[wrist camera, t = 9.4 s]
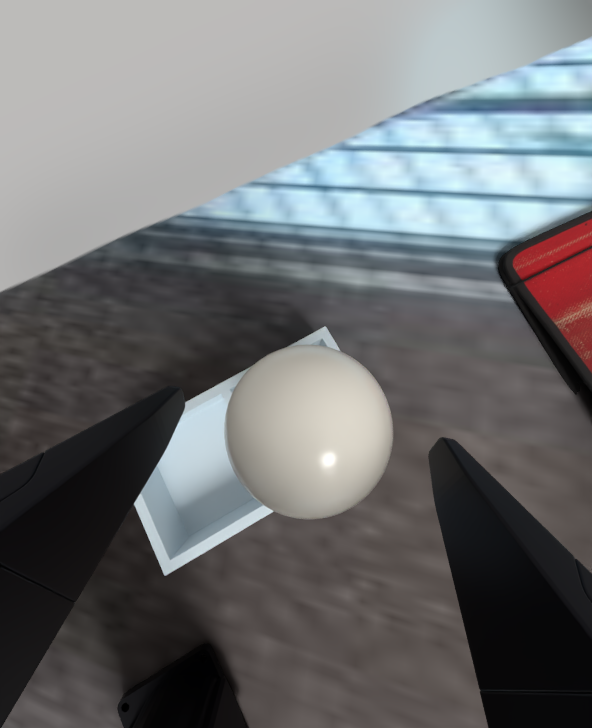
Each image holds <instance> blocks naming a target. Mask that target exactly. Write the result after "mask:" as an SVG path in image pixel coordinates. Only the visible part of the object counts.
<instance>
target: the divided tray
mask: <svg viewBox="0 0 592 728" xmlns="http://www.w3.org/2000/svg"><path fill="white" fill-rule="evenodd" d="M296 345H320V346H325V347H330V348H332V349H335V350H338V351H340V349H339V348H338V346H337V344H336V343H335V341H334V339H333V338H332V336H331V334H330V333H329V331H328V329H327V328H326V326H325V327H323V328H321V329H319V330H318V331H316V332H314V333H312V334H310V335H308V336H307V337H305V338H303V339H301V340H299V341H297V342H295V343H294V344H292V345H290V346H296ZM290 346H288V347H290ZM251 367H252V366H251ZM251 367H249V368H248V369H246V370H244V371H242V372H240V373H238V374H237V375H235V376H233V377H231V378H229V379H227V380H226V381H224V382H222V383H220V384H218V385H216V386H215V387H213V388H211V389H209V390H207V391H205V392H204V393H202V394H200V395H198V396H196V397H194V398H192V399H191V400H189V401H187V402H185V409H184V412H183V414H182V416H181V418H180V421H179V423H178V425H177V427H176V429H175V432H174V434H173V436H172V438H171V440H170V442H169V445H168V447H167V449H166V450H165V452H164V454H163V456H162V458H161V459H160V461H159V463H158V464H157V466H156V468H155V469H154V471H153V473H152V474H151V476H150V478H149V479H148V481H147V483H146V484H145V486H144V488H143V489H142V491H141V493H140V495H139V496H138V498H137V500H136V501H135V503H134V505H135V507H136V510H137V512H138V514H139V517H140V519H141V521H142V524H143V526H144V528H145V531H146V533H147V535H148V538H149V540H150V542H151V545H152V547H153V550H154V552H155V554H156V557H157V559H158V561H159V564H160V566H161V568H162V571H163V573H164V575H165V576H166V575H168V574H169V573H171V572H173V571H174V570H176V569H178V568H179V567H181V566H183V565H184V564H186V563H188V562H189V561H191V560H193V559H194V558H196V557H198V556H200V555H201V554H203V553H205V552H206V551H208V550H210V549H211V548H213V547H215V546H216V545H218V544H220V543H221V542H223V541H225V540H226V539H228V538H230V537H231V536H233V535H235V534H236V533H238V532H240V531H241V530H243V529H245V528H247V527H248V526H250V525H252V524H253V523H255V522H257V521H258V520H260V519H262V518H263V517H265V516H267V515H268V514H270V513H272V512H273V510H271V509H269V508H267V507H265V506H264V505H262V504H261V503H260V502H258V501H257V500H256V499H255V498H254V497H253V496H252V495H251V494H250V493H249V492H248V491H247V490H246V489H245V488H244V487H243V485H242V484H241V483H240V481H239V480H238V478H237V476H236V475H235V473H234V471H233V469H232V466H231V464H230V461H229V458H228V455H227V451H226V446H225V439H224V422H225V414H226V410H227V406H228V403H229V400H230V398H231V395H232V393H233V391H234V389H235V387H236V385H237V384H238V382H239V381H240V379H241V378H242V377H243V375H244V374H245V373H246V372H247V371H248V370H249V369H250V368H251Z"/></svg>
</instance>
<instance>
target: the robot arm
mask: <svg viewBox="0 0 592 728" xmlns="http://www.w3.org/2000/svg"><path fill="white" fill-rule="evenodd" d="M184 409H185V400H184V395H183V391H182V389H181V388H180V387H175V386H167V387H165V388H164V389H162V390H160V391H158V392H156V393H154V394H152V395H150V396H148V397H146V398H145V399H143V400H141V401H139V402H137V403H135V404H133V405H131V406H129V407H128V408H126V409H124V410H122V411H120V412H118V413H116V414H114V415H112V416H110V417H109V418H107V419H105V420H103V421H101V422H99V423H97V424H95V425H93V426H92V427H90V428H88V429H86V430H84V431H82V432H80V433H78V434H76V435H74V436H73V437H71V438H69V439H67V440H65V441H63V442H61V443H59V444H57V445H56V446H54V447H52V448H50V449H48V450H46V451H45V453H44V452H43V453H40V454H38V455H36V456H35V457H33V458H31V459H29V460H27V461H25V462H23V463H21V464H19V465H17V466H15V467H13V468H11V469H9V470H7V471H5V472H3V473H2V474H0V728H1V727H2V725H3V724H4V722H5V720H6V719H7V717H8V715H9V714H10V712H11V710H12V708H13V707H14V705H15V703H16V702H17V700H18V698H19V697H20V695H21V693H22V692H23V690H24V688H25V687H26V685H27V683H28V682H29V680H30V678H31V677H32V675H33V673H34V671H35V670H36V668H37V666H38V665H39V663H40V661H41V660H42V658H43V656H44V655H45V653H46V651H47V650H48V648H49V646H50V645H51V643H52V641H53V640H54V638H55V636H56V634H57V633H58V631H59V629H60V628H61V626H62V624H63V623H64V621H65V619H66V618H67V616H68V614H69V613H70V611H71V609H72V608H73V606H74V604H75V602H76V600H77V599H78V597H79V595H80V594H81V592H82V590H83V589H84V587H85V585H86V584H87V582H88V580H89V579H90V577H91V575H92V574H93V572H94V570H95V569H96V567H97V565H98V563H99V562H100V560H101V558H102V557H103V555H104V553H105V552H106V550H107V548H108V547H109V545H110V543H111V542H112V540H113V538H114V537H115V535H116V533H117V532H118V530H119V528H120V526H121V525H122V523H123V521H124V520H125V518H126V516H127V515H128V513H129V511H130V510H131V508H132V506H133V505H134V503H135V501H136V500H137V498H138V496H139V495H140V493H141V491H142V489H143V488H144V486H145V484H146V483H147V481H148V479H149V478H150V476H151V474H152V473H153V471H154V469H155V468H156V466H157V464H158V463H159V461H160V459H161V458H162V456H163V454H164V452H165V450H166V449H167V447H168V445H169V442H170V440H171V438H172V436H173V434H174V432H175V429H176V427H177V425H178V423H179V421H180V418H181V416H182V414H183V412H184ZM428 457H429V465H430V473H431V480H432V488H433V495H434V501H435V506H436V511H437V515H438V519H439V523H440V527H441V531H442V536H443V540H444V544H445V548H446V552H447V556H448V561H449V565H450V569H451V573H452V577H453V581H454V585H455V590H456V594H457V598H458V602H459V606H460V610H461V615H462V619H463V623H464V627H465V631H466V635H467V639H468V644H469V648H470V652H471V656H472V660H473V664H474V668H475V673H476V677H477V681H478V685H479V689H480V690H481V691H480V694H481V699H482V703H483V707H484V711H485V715H486V719H487V723H488V728H592V573H591V572H590V571H588V570H587V569H586V568H585V567H584V566H583V565H582V564H581V563H580V562H579V561H578V560H577V559H575V558H574V556H573V555H572V554H571V553H570V552H569V551H568V550H567V549H566V548H565V547H564V546H563V545H562V544H561V543H560V542H559V541H558V540H557V539H556V538H555V537H554V536H553V535H552V534H551V533H550V532H549V531H548V530H547V529H546V528H545V527H543V526H542V525H541V524H540V523H539V522H538V521H537V520H536V519H535V518H534V517H533V516H532V515H531V514H530V513H529V512H528V511H527V510H526V509H525V508H524V507H523V506H522V505H521V504H520V503H519V502H518V501H517V500H516V499H515V498H514V497H513V496H512V495H511V494H510V493H509V492H508V491H507V490H506V489H505V488H504V487H503V486H502V485H501V484H500V483H499V482H498V481H497V480H496V479H495V478H493V477H492V476H491V475H490V474H489V473H488V472H487V471H486V470H485V469H484V468H483V467H482V466H481V465H480V464H479V463H478V462H477V461H476V460H475V459H474V458H473V457H472V456H471V455H470V454H469V453H468V452H467V451H466V450H465V449H464V448H463V447H462V446H461V445H460V444H459V443H458V442H457V441H455V440H454V439H450V438H444V437H441V438H439V439H438V441H437V442H436V443H435V444H434V446H433V447H432V448H431V450H430V451H429V456H428ZM202 654H205V655H206V657H204V656H203V655H202ZM127 703H128V704H127ZM118 713H119V716H120V718H121V721H122V724H123V727H124V728H247V727H246V725H245V723H244V721H243V716H242V713H241V711H240V709H239V706H238V704H237V702H236V700H235V697H234V695H233V693H232V690H231V688H230V686H229V683H228V681H227V679H226V678H225V677H224V674H223V672H222V670H221V667H220V665H219V663H218V661H217V658H216V656H215V654H214V651H213V649H212V647H211V646H210V645H209V644H203V645H201V646H199V647H198V648H196V649H194V650H193V651H191V652H190V653H188V654H186V655H185V656H183V657H182V658H180V659H178V660H177V661H175V662H174V663H172V664H170V665H169V666H167V667H166V668H164V669H162V670H161V671H159V672H158V673H156V674H154V675H153V676H151V677H150V678H148V679H146V680H145V681H143V682H142V683H140V684H138V685H137V686H135V687H134V688H132V689H130V690H129V691H127V692H126V693H125V694H124V695H123V697H122V699H121V700H120V702H119V704H118Z"/></svg>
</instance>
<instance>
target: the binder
mask: <svg viewBox="0 0 592 728" xmlns="http://www.w3.org/2000/svg"><path fill="white" fill-rule="evenodd" d="M499 272H500V274H501V277H502V278H503V280H504V281H505V283H506V285H507V286H508V288H507V289H509V290H510V292H511V294H512V295H513V297H514V298H515V300H516V301H517V303H518V305H519V306H520V308H521V310H522V311H523V313H524V315H525V316H526V318H527V320H528V321H529V323H530V325H531V326H532V328H533V330H534V332H535V333H536V335H537V336H538V338H539V340H540V341H541V343H542V345H543V346H544V348H545V350H546V351H547V353H548V355H549V357H550V358H551V360H552V362H553V364H554V365H555V367H556V368H557V370H558V371H559V373H560V375H561V376H562V377H563V379H564V380H565V382H566V383H567V385H568V386H569V387H570V389H571V390H572V391H573V392H574V393H575V394H577V392H579V391H580V386H579V384H581V383H582V382H584V383H585V384H586V385H587V387H588V388H589V389H590V391H591V392H592V211H591V212H589V213H586V214H584V215H582V216H580V217H577V218H575V219H573V220H571V221H569V222H566V223H564V224H562V225H560V226H558V227H555V228H553V229H551V230H549V231H547V232H545V233H542V234H540V235H538V236H536V237H534V238H532V239H529V240H527V241H525V242H523V243H521V244H519V245H517V246H515V247H514V248H512V249H511V250H510V251H508V252H507V253H505V254H504V255H503V256H502V257H501V259H500V261H499ZM578 383H579V384H578Z"/></svg>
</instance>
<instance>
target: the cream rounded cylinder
mask: <svg viewBox="0 0 592 728" xmlns="http://www.w3.org/2000/svg"><path fill="white" fill-rule="evenodd" d="M224 439H225V446H226V451H227V455H228V458H229V461H230V464H231V466H232V469H233V471H234V473H235V475H236V476H237V478H238V480H239V481H240V483H241V484H242V485H243V487H244V488H245V489H246V490H247V491H248V492H249V493H250V494H251V495H252V496H253V497H254V498H255V499H256V500H257V501H258V502H260V503H261V504H262V505H264V506H265V507H267V508H269V509H271V510H273V511H275V512H277V513H280V514H282V515H285V516H289V517H293V518H299V519H321V518H326V517H331V516H334V515H337V514H340V513H342V512H344V511H346V510H348V509H350V508H352V507H353V506H355V505H356V504H358V503H359V502H361V501H362V500H363V499H364V498H365V497H366V496H367V495H368V494H369V493H370V492H371V491H372V490H373V489H374V487H375V486H376V485H377V484H378V482H379V480H380V479H381V477H382V475H383V474H384V471H385V469H386V467H387V464H388V462H389V458H390V455H391V450H392V444H393V423H392V416H391V412H390V408H389V405H388V402H387V400H386V397H385V395H384V393H383V391H382V389H381V387H380V385H379V384H378V382H377V381H376V380H375V378H374V377H373V376H372V375H371V373H370V372H369V371H368V370H367V369H366V368H365V367H364V366H363V365H361V364H360V363H359V362H358V361H356V360H355V359H353V358H352V357H350V356H349V355H347V354H345V353H343V352H341V351H338V350H335V349H332V348H330V347H325V346H320V345H296V346H290V347H286V348H283V349H280V350H277V351H275V352H273V353H271V354H268V355H267V356H265V357H264V358H262V359H260V360H259V361H258V362H257V363H255V364H254V365H253V366H252V367H251V368H250V369H249V370H248V371H247V372H246V373H245V374H244V375H243V377H242V378H241V379H240V381H239V382H238V384H237V385H236V387H235V389H234V391H233V393H232V395H231V398H230V400H229V403H228V406H227V410H226V414H225V422H224Z"/></svg>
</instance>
